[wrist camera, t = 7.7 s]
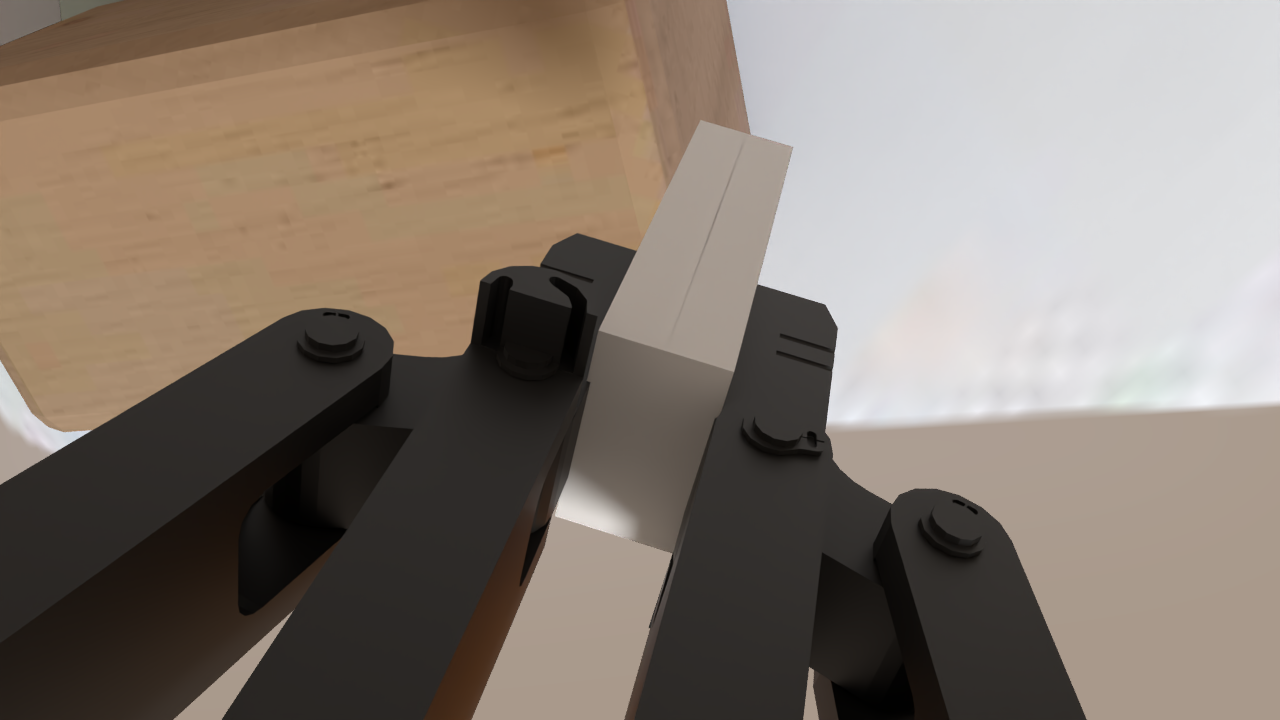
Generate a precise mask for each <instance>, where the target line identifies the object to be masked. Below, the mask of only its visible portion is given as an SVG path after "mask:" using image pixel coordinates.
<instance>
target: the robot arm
mask: <svg viewBox="0 0 1280 720" xmlns="http://www.w3.org/2000/svg"><path fill="white" fill-rule="evenodd" d="M792 149H793V147H791V146H788V145H784V144H781V143H777V142H774V141H771V140H767V139H764V138H760V137H757V136H754V135H750V134H747V133H743V132H740V131H736V130H733V129H730V128H726V127H723V126H719V125H716V124H712V123H709V122H706V121H702V120H700V122H699V124H698V126H697V128H696V130H695V133H694V135H693V137H692V139H691V141H690V143H689V145H688V147H687V149H686V151H685V153H684V155H683V157H682V159H681V161H680V163H679V166H678V168H677V170H676V172H675V174H674V176H673V178H672V180H671V182H670V184H669V186H668V188H667V190H666V192H665V194H664V196H663V199H662V201H661V203H660V205H659V207H658V209H657V211H656V213H655V215H654V217H653V219H652V221H651V223H650V225H649V227H648V229H647V232H646V234H645V236H644V238H643V240H642V242H641V244H640V246H639V248H638V250H637V251H636V250H632V249H629V248H626V247H622V246H619V245H616V244H612V243H609V242H606V241H602V240H599V239H596V238H592V237H589V236H586V235H582V234H579V233H576V234H574V235H572V236H570V237H568V238H566V239H564V240H562V241H560V242H558V243H556V244H554V245H552V247H551V248H550V250H549V251H548V253H547V254H546V256H545V258H544V259H543V261H542V262H541V264H540V267H537V266H509V267H505V268H502V269H498V270H494V271H492V272H490V273H489V274H488V275H487V276H485V277H484V278H483V279H481V280H480V284H479V291H478V297H477V304H476V310H475V317H474V323H473V330H472V336H471V343H470V345H469V346H468V348H467V349H466V351H465V352H464V354H463V355H458V356H450V357H421V356H411V355H400V354H393V348H394V341H393V339H392V337H391V336H390V334H389V332H388V331H387V329H386V328H385V327H383V326H382V325H381V324H379V323H378V322H376V321H375V320H373V319H372V318H370V317H368V316H365V315H362V314H359V313H356V312H353V311H350V310H343V309H335V308H318V309H309V310H301V311H299V312H296V313H294V314H291V315H288V316H286V317H283V318H281V319H279V320H278V321H276V322H274V323H273V324H271V325H269V326H268V327H266V328H264V329H263V330H261V331H259V332H258V333H256V334H254V335H252V336H251V337H249V338H247V339H246V340H244V341H242V342H241V343H239V344H237V345H236V346H234V347H232V348H231V349H229V350H227V351H225V352H224V353H222V354H220V355H219V356H217V357H215V358H214V359H212V360H210V361H209V362H207V363H205V364H203V365H202V366H200V367H198V368H197V369H195V370H193V371H192V372H190V373H188V374H187V375H185V376H183V377H182V378H180V379H178V380H176V381H175V382H173V383H171V384H170V385H168V386H166V387H165V388H163V389H161V390H160V391H158V392H156V393H155V394H153V395H151V396H149V397H148V398H146V399H144V400H143V401H141V402H139V403H138V404H136V405H134V406H133V407H131V408H129V409H127V410H126V411H124V412H122V413H121V414H119V415H117V416H116V417H114V418H112V419H111V420H109V421H107V422H106V423H104V424H102V425H100V426H99V427H97V428H95V429H94V430H92V431H90V432H89V433H87V434H85V435H84V436H82V437H80V438H79V439H77V440H75V441H73V442H72V443H70V444H68V445H67V446H65V447H63V448H62V449H60V450H58V451H57V452H55V453H53V454H52V455H50V456H48V457H47V458H45V459H43V460H41V461H40V462H38V463H36V464H35V465H33V466H31V467H30V468H28V469H26V470H24V471H23V472H21V473H19V474H18V475H16V476H14V477H13V478H11V479H9V480H8V481H6V482H4V483H3V484H1V485H0V720H173V719H174V718H175V717H176V716H178V715H179V714H180V713H181V712H182V711H183V710H184V709H185V708H186V707H187V706H189V705H190V704H191V703H192V702H193V701H194V700H195V699H196V698H197V697H198V696H200V695H201V694H202V693H203V692H204V691H205V690H206V689H207V688H208V687H209V686H211V685H212V684H213V683H214V682H215V681H216V680H217V679H218V678H219V677H220V676H222V675H223V673H225V672H226V671H227V670H228V669H229V668H230V667H231V666H232V665H234V664H235V663H236V662H237V661H238V660H239V659H240V658H241V657H242V656H243V655H245V654H246V653H247V652H248V651H249V650H250V649H251V648H252V647H253V646H254V645H256V644H257V643H258V642H259V641H260V640H261V639H262V638H263V637H264V636H265V635H266V634H268V633H269V632H270V631H271V630H272V629H273V628H274V627H275V626H276V625H278V624H279V623H280V622H281V621H282V620H283V619H284V618H285V617H286V616H287V615H288V614H289V613H291V612H292V611H293V610H294V611H293V612H292V614H291V616H290V617H289V618H288V620H287V622H286V623H285V625H284V626H283V628H282V629H281V631H280V632H279V634H278V635H277V637H276V638H275V640H274V641H273V643H272V644H271V646H270V647H269V649H268V650H267V652H266V653H265V655H264V656H263V658H262V659H261V661H260V662H259V664H258V665H257V667H256V668H255V670H254V671H253V673H252V674H251V676H250V678H249V679H248V681H247V682H246V684H245V685H244V687H243V688H242V690H241V691H240V693H239V694H238V696H237V697H236V699H235V700H234V702H233V703H232V705H231V706H230V708H229V709H228V711H227V712H226V714H225V715H224V717H223V719H222V720H471V719H472V717H473V715H474V712H475V710H476V707H477V705H478V703H479V700H480V698H481V696H482V693H483V691H484V688H485V686H486V684H487V681H488V679H489V677H490V674H491V672H492V670H493V667H494V664H495V663H496V660H497V658H498V655H499V653H500V650H501V648H502V646H503V643H504V641H505V639H506V636H507V634H508V632H509V629H510V627H511V625H512V622H513V620H514V617H515V615H516V613H517V610H518V608H519V606H520V603H521V601H522V598H523V596H524V594H525V591H526V589H527V587H528V584H529V582H530V580H531V577H532V574H533V573H534V570H535V568H536V565H537V563H538V561H539V558H540V556H541V554H542V551H543V549H544V546H545V542H546V538H547V534H548V529H549V525H550V520H551V516H552V513H553V511H554V509H555V507H556V504H557V502H558V500H559V502H558V506H557V511H556V515H555V516H556V517H559V518H563V519H566V520H569V521H572V522H575V523H578V524H582V525H585V526H588V527H591V528H594V529H597V530H601V531H604V532H607V533H610V534H613V535H616V536H619V537H623V538H626V539H629V540H632V541H635V542H638V543H641V544H645V545H648V546H651V547H654V548H657V549H660V550H664V551H667V552H670V553H673V554H672V558H671V560H670V564H669V567H668V570H667V573H666V576H665V579H664V582H663V585H662V588H661V591H660V594H659V597H658V601H657V603H656V607H655V610H654V613H653V616H652V619H651V622H650V625H649V628H650V631H649V635H648V638H647V642H646V645H645V649H644V652H643V656H642V659H641V663H640V666H639V670H638V674H637V677H636V681H635V684H634V688H633V691H632V695H631V698H630V702H629V705H628V709H627V712H626V716H625V719H624V720H803V715H804V706H805V697H806V689H807V680H808V671H809V667H810V668H812V669H814V684H813V688H814V694H815V699H816V705H817V709H818V715H819V720H1086V717H1085V715H1084V713H1083V710H1082V707H1081V705H1080V703H1079V701H1078V698H1077V696H1076V693H1075V691H1074V688H1073V686H1072V684H1071V681H1070V679H1069V676H1068V674H1067V672H1066V669H1065V667H1064V665H1063V662H1062V660H1061V658H1060V655H1059V653H1058V650H1057V648H1056V646H1055V643H1054V641H1053V638H1052V636H1051V634H1050V631H1049V629H1048V626H1047V624H1046V622H1045V619H1044V617H1043V614H1042V612H1041V610H1040V607H1039V605H1038V603H1037V600H1036V598H1035V595H1034V593H1033V591H1032V588H1031V586H1030V583H1029V581H1028V579H1027V576H1026V574H1025V572H1024V569H1023V567H1022V565H1021V562H1020V560H1019V558H1018V555H1017V552H1016V550H1015V548H1014V546H1013V543H1012V541H1011V539H1010V538H1009V536H1008V535H1007V533H1006V532H1005V530H1004V529H1003V527H1002V525H1001V524H1000V523H999V522H998V521H997V520H996V519H994V518H993V517H992V516H991V515H990V514H989V513H988V512H986V511H985V510H984V509H983V508H982V507H980V506H978V505H976V504H974V503H973V502H971V501H969V500H967V499H965V498H963V497H961V496H959V495H956V494H952V493H949V492H946V491H942V490H938V489H913V490H910V491H908V492H905V493H903V494H900V495H899V496H898V497H897V499H896V500H895V502H894V503H893V504H891V503H889V502H887V501H885V500H883V499H882V498H880V497H878V496H876V495H874V494H873V493H871V492H869V491H867V490H866V489H864V488H863V487H861V486H860V485H858V484H857V483H855V482H854V481H852V480H851V479H850V478H849V477H848V476H847V475H846V474H845V473H843V472H842V471H841V470H840V469H839V467H838V466H837V465H836V463H835V462H834V461H833V459H832V458H833V453H832V447H831V441H830V438H829V437H828V436H827V434H826V433H825V429H826V421H827V413H828V405H829V396H830V388H831V380H832V369H833V363H834V355H835V354H834V352H835V347H836V339H837V330H838V328H837V326H836V324H835V322H834V320H833V318H832V316H831V315H830V313H829V311H828V309H827V307H826V305H824V304H821V303H818V302H815V301H811V300H808V299H805V298H801V297H798V296H795V295H791V294H788V293H785V292H781V291H778V290H775V289H771V288H768V287H765V286H761V285H758V284H757V283H758V279H759V275H760V272H761V268H762V264H763V260H764V256H765V252H766V249H767V245H768V241H769V237H770V233H771V230H772V226H773V222H774V218H775V214H776V210H777V207H778V203H779V199H780V195H781V191H782V188H783V184H784V180H785V176H786V172H787V169H788V165H789V161H790V157H791V153H792ZM559 497H560V498H559Z"/></svg>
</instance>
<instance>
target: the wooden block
mask: <svg viewBox="0 0 1280 720" xmlns="http://www.w3.org/2000/svg"><path fill="white" fill-rule="evenodd" d="M700 120H702V121H706V122H709V123H712V124H716V125H719V126H723V127H726V128H730V129H733V130H736V131H740V132H743V133H747V134H750V129H749V123H748V118H747V112H746V107H745V101H744V96H743V90H742V85H741V79H740V74H739V68H738V63H737V57H736V52H735V46H734V41H733V35H732V30H731V24H730V19H729V13H728V8H727V2H726V0H124V1H119V2H115V3H110V4H106V5H101V6H97V7H95V8H92V9H90V10H87V11H85V12H83V13H80V14H78V15H75V16H73V17H70V18H68V19H65V20H63V21H60V22H58V23H56V24H53V25H51V26H48V27H46V28H43V29H41V30H38V31H36V32H33V33H31V34H29V35H26V36H24V37H21V38H19V39H16V40H14V41H11V42H9V43H7V44H4V45H2V46H0V360H1V362H2V364H3V365H4V367H5V369H6V370H7V372H8V374H9V375H10V377H11V379H12V380H13V382H14V384H15V386H16V387H17V389H18V391H19V392H20V394H21V396H22V397H23V399H24V401H25V402H26V404H27V406H28V407H29V409H30V411H31V413H32V414H34V415H35V416H36V417H37V418H38V419H40V420H41V421H42V422H43V423H44V424H46V425H47V426H48V427H50V428H53V429H56V430H59V431H62V432H72V431H85V430H94V429H95V428H97V427H99V426H100V425H102V424H104V423H106V422H107V421H109V420H111V419H112V418H114V417H116V416H117V415H119V414H121V413H122V412H124V411H126V410H127V409H129V408H131V407H133V406H134V405H136V404H138V403H139V402H141V401H143V400H144V399H146V398H148V397H149V396H151V395H153V394H155V393H156V392H158V391H160V390H161V389H163V388H165V387H166V386H168V385H170V384H171V383H173V382H175V381H176V380H178V379H180V378H182V377H183V376H185V375H187V374H188V373H190V372H192V371H193V370H195V369H197V368H198V367H200V366H202V365H203V364H205V363H207V362H209V361H210V360H212V359H214V358H215V357H217V356H219V355H220V354H222V353H224V352H225V351H227V350H229V349H231V348H232V347H234V346H236V345H237V344H239V343H241V342H242V341H244V340H246V339H247V338H249V337H251V336H252V335H254V334H256V333H258V332H259V331H261V330H263V329H264V328H266V327H268V326H269V325H271V324H273V323H274V322H276V321H278V320H279V319H281V318H283V317H286V316H288V315H291V314H294V313H296V312H299V311H301V310H309V309H318V308H335V309H343V310H350V311H353V312H356V313H359V314H362V315H365V316H368V317H370V318H372V319H373V320H375V321H376V322H378V323H379V324H381V325H382V326H383V327H385V328H386V329H387V331H388V332H389V334H390V336H391V337H392V339H393V341H394V348H393V354H400V355H411V356H421V357H450V356H458V355H463V354H464V352H465V351H466V349H467V348H468V346H469V345H470V343H471V336H472V330H473V323H474V317H475V310H476V304H477V297H478V291H479V284H480V280H481V279H483V278H484V277H485V276H487V275H488V274H489V273H490V272H492V271H494V270H498V269H502V268H505V267H509V266H537V267H540V264H541V262H542V261H543V259H544V258H545V256H546V254H547V253H548V251H549V250H550V248H551V247H552V245H554V244H556V243H558V242H560V241H562V240H564V239H566V238H568V237H570V236H572V235H574V234H576V233H579V234H582V235H586V236H589V237H592V238H596V239H599V240H602V241H606V242H609V243H612V244H616V245H619V246H622V247H626V248H629V249H632V250H636V251H637V250H638V248H639V246H640V244H641V242H642V240H643V238H644V236H645V234H646V232H647V229H648V227H649V225H650V223H651V221H652V219H653V217H654V215H655V213H656V211H657V209H658V207H659V205H660V203H661V201H662V199H663V196H664V194H665V192H666V190H667V188H668V186H669V184H670V182H671V180H672V178H673V176H674V174H675V172H676V170H677V168H678V166H679V163H680V161H681V159H682V157H683V155H684V153H685V151H686V149H687V147H688V145H689V143H690V141H691V139H692V137H693V135H694V133H695V130H696V128H697V126H698V124H699V122H700ZM750 135H751V134H750Z"/></svg>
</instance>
